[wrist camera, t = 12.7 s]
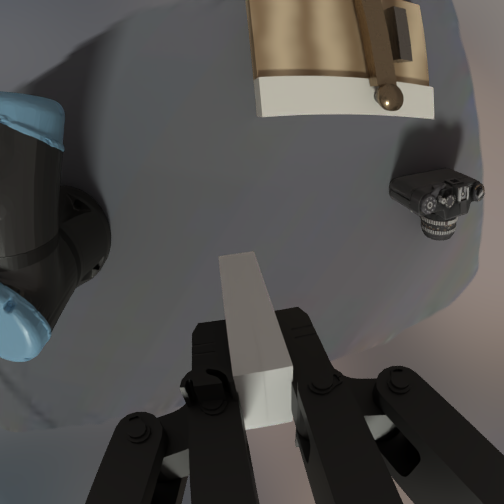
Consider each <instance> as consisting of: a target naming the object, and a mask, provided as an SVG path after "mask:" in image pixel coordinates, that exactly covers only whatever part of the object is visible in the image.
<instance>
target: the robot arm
mask: <svg viewBox="0 0 504 504" xmlns="http://www.w3.org/2000/svg"><path fill="white" fill-rule="evenodd" d="M64 123H65V112H64V109H63V107H62V106H61V105H60V104H59V103H58V102H57V101H55V100H52V99H48V98H44V97H39V96H34V95H28V94H21V93H12V92H1V91H0V357H1V358H3V359H6V360H10V361H15V362H24V361H28V360H31V359H32V358H34V357H36V356H37V355H38V354H39V353H40V351H41V350H42V348H43V347H44V345H45V344H46V342H47V341H48V340H49V339H50V337H51V332H52V330H53V328H54V326H55V324H56V323H57V321H58V319H59V317H60V315H61V313H62V311H63V310H64V308H65V306H66V304H67V302H68V301H69V299H70V297H71V295H72V294H73V292H74V290H75V288H77V287H78V286H80V285H82V284H84V283H85V282H87V281H89V280H91V279H92V278H93V277H94V276H95V275H96V274H97V273H98V272H99V271H100V270H101V268H102V266H103V265H104V263H105V261H106V259H107V257H108V255H109V251H110V246H111V233H110V228H109V224H108V221H107V219H106V216H105V214H104V212H103V211H102V209H101V208H100V206H99V205H98V204H97V203H96V201H95V200H94V199H93V198H91V197H90V196H89V195H88V194H86V193H85V192H83V191H81V190H79V189H77V188H74V187H70V186H60V177H61V163H62V153H63V152H64V149H65V148H64V145H63V134H64ZM218 257H219V266H220V275H221V284H222V293H223V302H224V310H225V319H226V320H219V321H212V322H204V323H198V325H197V326H196V328H195V330H194V331H193V333H192V371H190V372H188V373H187V374H186V375H185V377H184V378H183V379H182V381H181V385H180V390H181V392H182V395H183V397H184V399H185V402H186V404H185V405H184V406H183V407H181V408H180V409H179V410H177V411H175V412H172V413H170V414H167V415H164V416H161V417H158V418H156V417H155V416H154V415H152V414H150V413H147V412H135V413H132V414H129V415H127V416H126V417H124V418H123V419H121V420H120V422H119V423H118V425H117V426H116V428H115V431H114V433H113V435H112V438H111V440H110V442H109V445H108V447H107V450H106V452H105V455H104V457H103V459H102V462H101V464H100V467H99V469H98V472H97V474H96V477H95V479H94V482H93V485H92V487H91V490H90V492H89V495H88V498H87V500H86V503H85V504H181V503H182V499H183V495H184V491H185V486H186V482H187V478H188V475H190V488H191V503H192V504H259V499H258V494H257V488H256V483H255V478H254V473H253V467H252V462H251V456H250V451H249V445H248V441H247V436H246V430H247V429H253V428H260V427H265V426H271V425H277V424H282V423H287V422H292V417H293V418H294V421H295V425H296V440H295V443H296V447H299V448H300V451H301V455H302V459H303V462H304V465H305V469H306V472H307V476H308V479H309V483H310V486H311V489H312V493H313V496H314V500H315V503H316V504H403V502H402V500H401V498H400V496H399V493H398V491H397V488H396V486H395V484H394V482H393V479H394V480H395V481H396V482H397V484H398V485H399V486H400V487H401V488H402V489H403V491H404V492H405V493H406V494H407V496H408V497H409V498H410V499H411V500H412V501H413V503H414V504H504V455H503V454H502V453H501V452H499V450H497V449H496V448H495V447H494V446H493V445H492V444H491V443H490V442H489V441H488V440H487V439H486V438H485V437H484V436H483V435H482V434H481V433H480V432H479V431H478V430H476V428H475V427H473V425H471V424H470V423H469V422H468V421H467V420H466V419H465V418H464V417H463V416H462V415H461V414H460V413H459V412H458V411H457V410H456V409H454V407H452V406H451V405H450V404H449V403H448V402H447V401H446V400H445V399H444V398H443V397H442V396H440V394H439V393H437V392H436V391H435V390H434V389H433V388H432V387H431V386H430V385H429V384H428V383H427V382H425V380H423V379H422V378H421V377H420V376H419V375H418V374H417V373H416V372H414V371H413V370H411V369H410V368H406V367H403V366H392V367H389V368H386V369H384V370H383V371H382V372H381V373H380V374H379V375H378V378H377V379H355V378H349V377H346V376H344V375H342V373H341V372H339V371H337V370H336V369H334V367H333V366H332V364H331V362H330V360H329V358H328V356H327V354H326V352H325V350H324V348H323V345H322V343H321V341H320V339H319V337H318V335H317V333H316V331H315V329H314V326H313V324H312V322H311V320H310V318H309V316H308V314H306V313H305V312H304V311H303V310H301V309H300V308H299V307H294V308H289V309H283V310H277V311H274V309H273V306H272V303H271V300H270V297H269V294H268V291H267V288H266V285H265V283H264V280H263V277H262V274H261V271H260V268H259V265H258V262H257V259H256V256H255V253H254V251H253V252H246V253H239V254H232V255H225V256H218ZM391 476H392V477H391ZM392 478H393V479H392Z"/></svg>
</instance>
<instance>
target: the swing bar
mask: <svg viewBox="0 0 504 504" xmlns="http://www.w3.org/2000/svg"><path fill="white" fill-rule="evenodd" d="M354 3H355V8H356V12H357V16H358V21H359V25H360V30H361V35H362V40H363V45H364V51H365V57H366V63H367V69H368V75H369V82H370V86H380V87H379V88H378V90H377V93H376V98H377V102H378V104H379V105H380V106H381V107H382V108H383V109H384V110H387V111H397V110H399V109H400V108H401V107H402V105H403V101H404V97H403V93H402V91H401V89H400V88H399V87H398V86H397V83H396V75H395V69H394V62H393V56H392V50H391V45H390V39H389V34H388V29H387V25H386V20H385V16H384V11H383V7H382V3H381V0H354Z"/></svg>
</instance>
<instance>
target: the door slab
mask: <svg viewBox="0 0 504 504" xmlns="http://www.w3.org/2000/svg"><path fill="white" fill-rule="evenodd" d="M381 3H382V7H383V10H385V9H387V8H390V7H392V6H396V7H400V8H404V9H406V14H407V20H408V27H409V34H410V42H411V50H412V60H413V61H411V62H403V63H394V69H395V75H396V82H403V83H410V84H417V85H423V86H429V78H428V65H427V55H426V46H425V38H424V31H423V24H422V18H421V12H420V6H419V5H417V4H413V3H410V2H406V1H403V0H381ZM246 10H247V19H248V28H249V38H250V48H251V58H252V68H253V79H254V80H255V79H257V78H258V77H271V76H336V77H354V78H367V79H369V75H368V69H367V63H366V57H365V51H364V45H363V40H362V35H361V30H360V25H359V21H358V16H357V12H356V8H355V3H354V0H246Z"/></svg>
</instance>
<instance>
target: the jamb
mask: <svg viewBox="0 0 504 504" xmlns="http://www.w3.org/2000/svg"><path fill="white" fill-rule="evenodd" d="M396 83H397V86H398V87H399V88H400V89H401V91H402V93H403V97H404V101H403V105H402V107H401V108H400V109H399V110H397V111H387V110H384V109H383V108H382V107H381V106H380V105H379V104H378V102H377V98H376V93H377V90H378V88H379V87H380V86H370V82H369V79H367V78H354V77H336V76H271V77H258V78H257V79H255V80H254V89H255V100H256V111H257V117H270V116H286V115H310V114H365V115H389V116H404V117H417V118H427V119H434V94H433V87H429V86H423V85H417V84H410V83H403V82H396Z"/></svg>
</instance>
